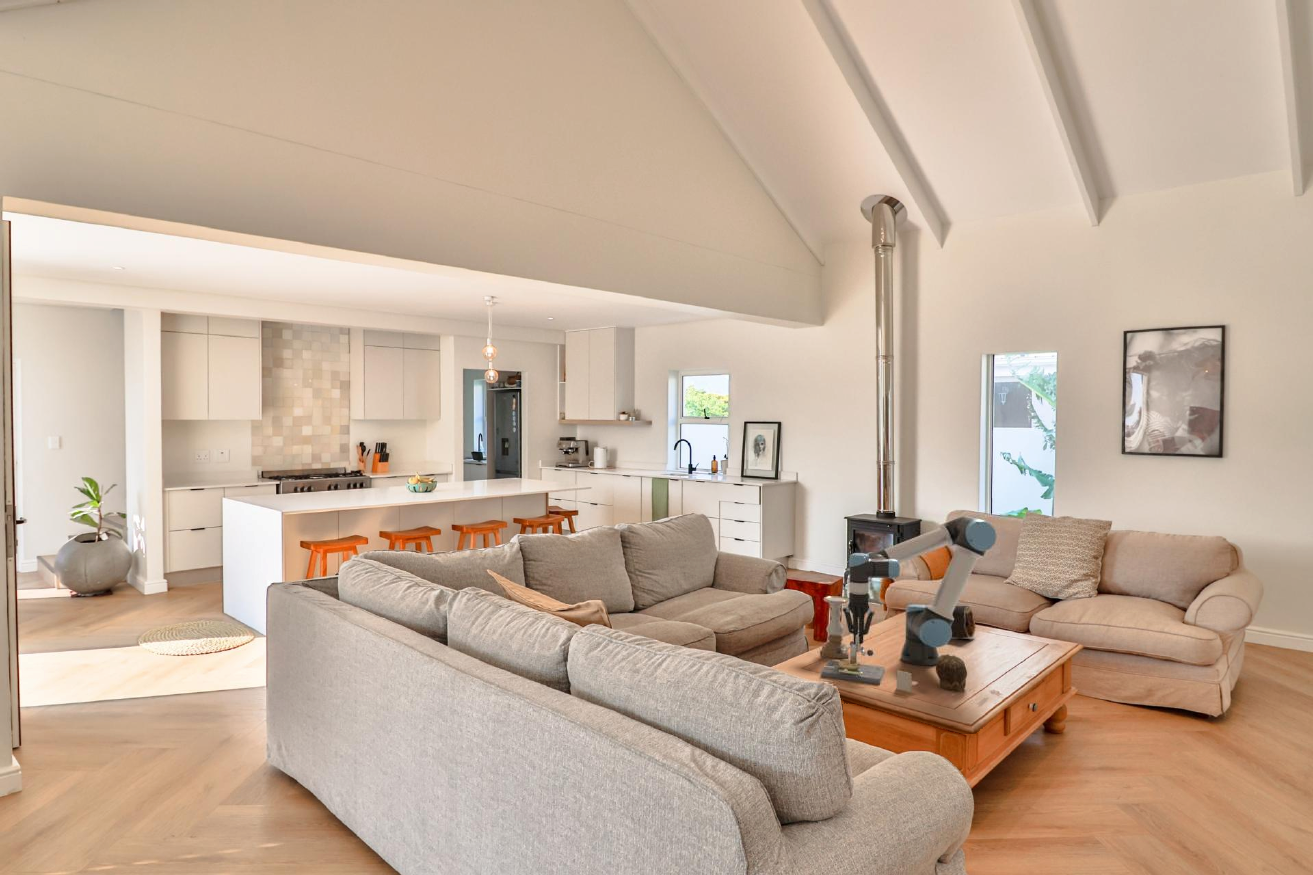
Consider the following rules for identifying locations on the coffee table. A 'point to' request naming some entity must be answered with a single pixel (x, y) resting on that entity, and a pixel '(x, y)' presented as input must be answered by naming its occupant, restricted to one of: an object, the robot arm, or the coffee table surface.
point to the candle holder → (835, 629)
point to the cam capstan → (851, 657)
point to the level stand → (853, 673)
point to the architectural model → (904, 681)
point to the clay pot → (963, 623)
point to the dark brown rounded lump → (951, 673)
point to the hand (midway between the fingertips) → (858, 651)
